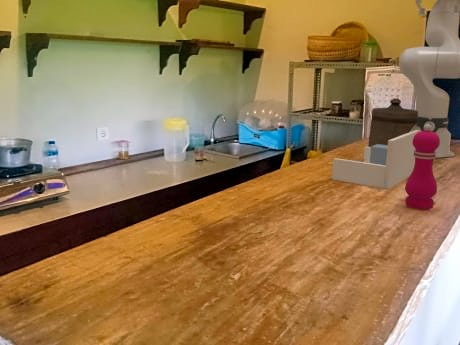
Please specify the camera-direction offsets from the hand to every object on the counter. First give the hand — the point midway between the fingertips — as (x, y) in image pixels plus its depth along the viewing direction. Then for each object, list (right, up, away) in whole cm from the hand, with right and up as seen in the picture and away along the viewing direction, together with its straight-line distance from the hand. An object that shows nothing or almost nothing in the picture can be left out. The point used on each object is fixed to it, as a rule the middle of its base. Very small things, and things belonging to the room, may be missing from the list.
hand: (439, 13), depth 140 cm
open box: (-18, -48, +2) cm, 52 cm away
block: (-17, -48, +1) cm, 51 cm away
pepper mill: (-15, -55, -23) cm, 61 cm away
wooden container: (-6, -43, +24) cm, 50 cm away
